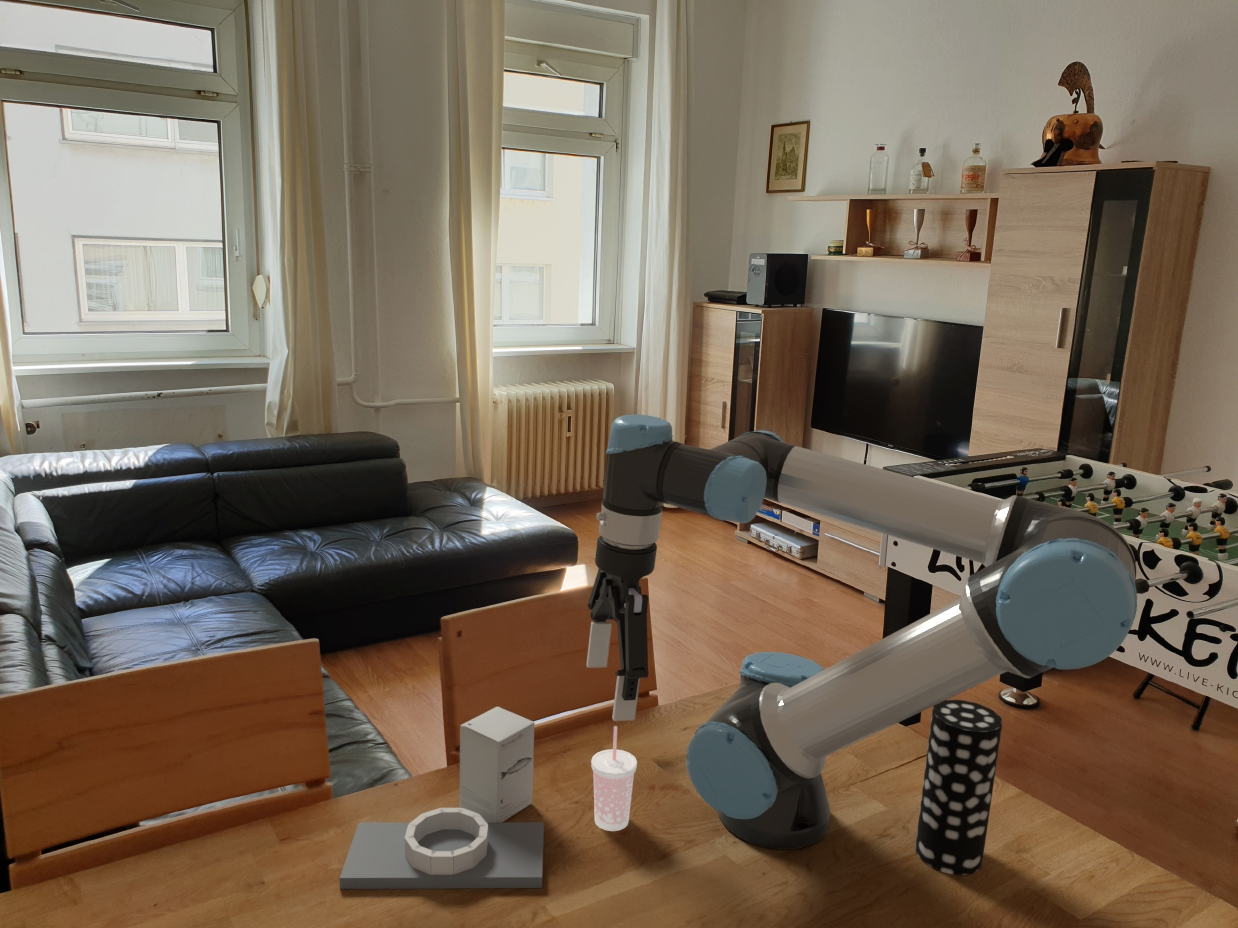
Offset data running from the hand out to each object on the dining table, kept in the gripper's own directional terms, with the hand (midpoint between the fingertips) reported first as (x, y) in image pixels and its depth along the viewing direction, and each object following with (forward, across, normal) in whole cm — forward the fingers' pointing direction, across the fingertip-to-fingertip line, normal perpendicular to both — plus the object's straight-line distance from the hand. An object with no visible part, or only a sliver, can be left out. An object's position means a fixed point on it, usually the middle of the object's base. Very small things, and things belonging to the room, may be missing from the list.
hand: (609, 691), depth 123 cm
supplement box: (+20, -6, -12) cm, 25 cm away
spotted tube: (+16, +18, +43) cm, 49 cm away
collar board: (+20, +5, -20) cm, 29 cm away
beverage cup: (+19, +1, +2) cm, 19 cm away
